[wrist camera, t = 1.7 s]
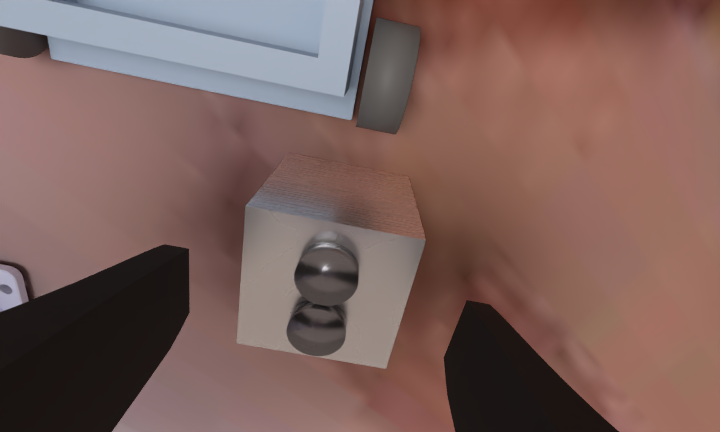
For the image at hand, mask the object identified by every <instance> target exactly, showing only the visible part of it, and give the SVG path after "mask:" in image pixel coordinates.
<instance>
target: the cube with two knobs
mask: <svg viewBox="0 0 720 432" xmlns="http://www.w3.org/2000/svg"><path fill="white" fill-rule="evenodd" d="M425 242H426V238H425V234H424V231H423V227H422V223H421V220H420V216H419V212H418V209H417V205H416V201H415V198H414V194H413V190H412V187H411V183H410V179H409V176H405V175H400V174H395V173H390V172H385V171H380V170H375V169H370V168H364V167H359V166H354V165H349V164H344V163H339V162H334V161H329V160H324V159H319V158H314V157H309V156H304V155H299V154H294V153H288V154H287V156H286V157H285V158H284V159H283V161H282V162H281V163H280V164H279V165H278V167H277V168H276V169H275V170H274V172H273V173H272V174H271V175H270V176H269V178H268V179H267V180H266V181H265V183H264V184H263V185H262V186H261V188H260V189H259V190H258V191H257V192H256V194H255V195H254V196H253V197H252V199H251V200H250V201H249V202H248V203H247V205H246V206H245V222H244V237H243V252H242V268H241V283H240V299H239V314H238V330H237V343H238V344H244V345H250V346H256V347H261V348H267V349H273V350H279V351H285V352H291V353H297V354H302V355H308V356H314V357H320V358H326V359H332V360H337V361H343V362H349V363H355V364H361V365H367V366H373V367H378V368H384V369H386V367H387V364H388V361H389V357H390V354H391V351H392V348H393V345H394V341H395V338H396V335H397V332H398V329H399V325H400V322H401V319H402V316H403V313H404V310H405V306H406V303H407V300H408V297H409V294H410V290H411V287H412V284H413V281H414V278H415V274H416V271H417V268H418V265H419V262H420V258H421V255H422V252H423V249H424V246H425Z"/></svg>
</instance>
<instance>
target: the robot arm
mask: <svg viewBox="0 0 720 432" xmlns="http://www.w3.org/2000/svg"><path fill="white" fill-rule="evenodd" d="M188 314H189V249H187V248H181V247H176V246H170V245H165V244H164V245H161V246H159V247H156V248H153V249H151V250H149V251H146V252H144V253H142V254H139V255H137V256H135V257H132V258H130V259H128V260H126V261H123V262H121V263H119V264H117V265H114V266H112V267H110V268H107V269H105V270H103V271H101V272H98V273H96V274H94V275H91V276H89V277H87V278H84V279H82V280H80V281H78V282H75V283H73V284H70V285H68V286H65V287H63V288H60V289H58V290H55V291H53V292H50V293H48V294H45V295H43V296H40V297H38V298H35V299H33V300H30V301H29V300H28V296H27V292H26V288H25V284H24V280H23V276H22V274H21V272H20V271H19V270H17V269H16V268H14V267H11V266H8V265H2V264H0V432H112V431H113V429H114V428H115V426H116V425H117V424H118V422H119V421H120V419H121V418H122V416H123V415H124V414H125V412H126V411H127V409H128V408H129V407H130V405H131V404H132V402H133V401H134V400H135V398H136V397H137V395H138V394H139V393H140V391H141V390H142V388H143V387H144V385H145V384H146V383H147V381H148V380H149V378H150V377H151V376H152V374H153V373H154V371H155V370H156V368H157V367H158V366H159V364H160V363H161V361H162V360H163V358H164V357H165V355H166V354H167V353H168V351H169V350H170V348H171V346H172V344H173V343H174V341H175V339H176V337H177V335H178V334H179V332H180V330H181V328H182V326H183V324H184V322H185V320H186V318H187V316H188ZM444 364H445V376H446V386H447V395H448V400H449V405H450V409H451V414H452V419H453V423H454V428H455V432H619V431H617V430H616V429H615V428H614V427H613V426H612V425H611V424H610V423H608V422H607V421H606V420H605V419H604V418H603V417H602V416H601V415H600V414H598V413H597V412H596V411H595V410H594V409H593V408H592V407H591V406H590V405H589V404H588V403H587V402H586V401H585V400H584V399H583V398H582V397H580V396H579V395H578V394H577V393H576V392H575V391H574V390H573V389H572V388H571V387H570V386H569V385H568V384H567V383H566V382H565V381H564V380H563V379H562V378H561V377H560V376H559V375H558V374H557V373H556V372H555V371H554V370H553V369H552V368H551V367H550V366H549V365H548V364H547V363H546V362H545V361H544V360H543V359H542V358H541V357H540V356H539V355H538V354H537V353H536V352H535V351H534V349H533V348H532V347H531V346H530V345H529V344H528V343H527V342H526V341H525V340H524V339H523V338H522V337H521V336H520V335H519V334H518V333H517V332H516V331H515V329H514V328H513V327H512V326H511V325H510V324H509V323H508V322H507V321H506V320H505V319H504V318H503V317H502V316H501V315H500V314H499V313H498V312H497V311H496V310H495V309H494V308H493V307H492V306H491V305H489V304H484V303H479V302H473V301H468V300H467V301H466V304H465V306H464V309H463V311H462V314H461V316H460V319H459V321H458V324H457V326H456V329H455V331H454V334H453V336H452V339H451V341H450V344H449V346H448V349H447V351H446V354H445V356H444Z"/></svg>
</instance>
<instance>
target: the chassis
mask: <svg viewBox="0 0 720 432" xmlns="http://www.w3.org/2000/svg"><path fill="white" fill-rule="evenodd" d="M373 1H374V0H0V54H3V55H8V56H13V57H18V58H30V57H34V56H37V55H39V54H41V53H42V52H43V51H45V50H46V49H47V48H48V47H49V49H50V56H51V59H54V60H59V61H64V62H69V63H74V64H79V65H84V66H89V67H93V68H98V69H103V70H108V71H113V72H118V73H123V74H128V75H133V76H137V77H142V78H147V79H152V80H157V81H162V82H167V83H172V84H177V85H181V86H186V87H191V88H196V89H201V90H206V91H211V92H216V93H221V94H225V95H230V96H235V97H240V98H245V99H250V100H255V101H260V102H264V103H269V104H274V105H279V106H284V107H289V108H294V109H299V110H304V111H308V112H313V113H318V114H323V115H328V116H333V117H338V118H343V119H348V120H352V116H353V111H354V106H355V100H356V95H357V89H358V84H359V78H360V73H361V67H362V62H363V56H364V51H365V45H366V40H367V34H368V29H369V23H370V18H371V12H372V7H373ZM420 34H421V29H420V27H418V26H413V25H409V24H404V23H400V22H395V21H391V20H386V19H382V18H377V19H376V24H375V29H374V34H373V39H372V44H371V49H370V55H369V60H368V65H367V70H366V76H365V81H364V86H363V92H362V97H361V102H360V108H359V113H358V119H357V124H356V127H361V128H366V129H371V130H376V131H381V132H386V133H391V134H396V133H397V131H398V129H399V127H400V124H401V121H402V118H403V115H404V112H405V108H406V105H407V101H408V97H409V93H410V89H411V85H412V81H413V76H414V72H415V67H416V62H417V57H418V51H419V44H420Z"/></svg>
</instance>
